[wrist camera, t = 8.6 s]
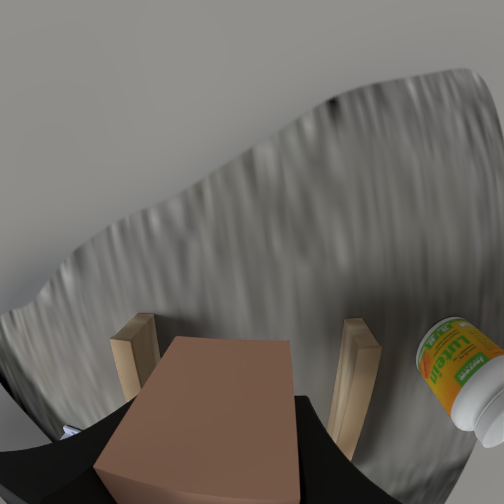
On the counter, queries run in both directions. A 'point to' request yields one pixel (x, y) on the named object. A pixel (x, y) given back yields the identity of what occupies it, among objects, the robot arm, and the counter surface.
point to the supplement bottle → (465, 377)
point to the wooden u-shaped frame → (346, 386)
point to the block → (209, 428)
